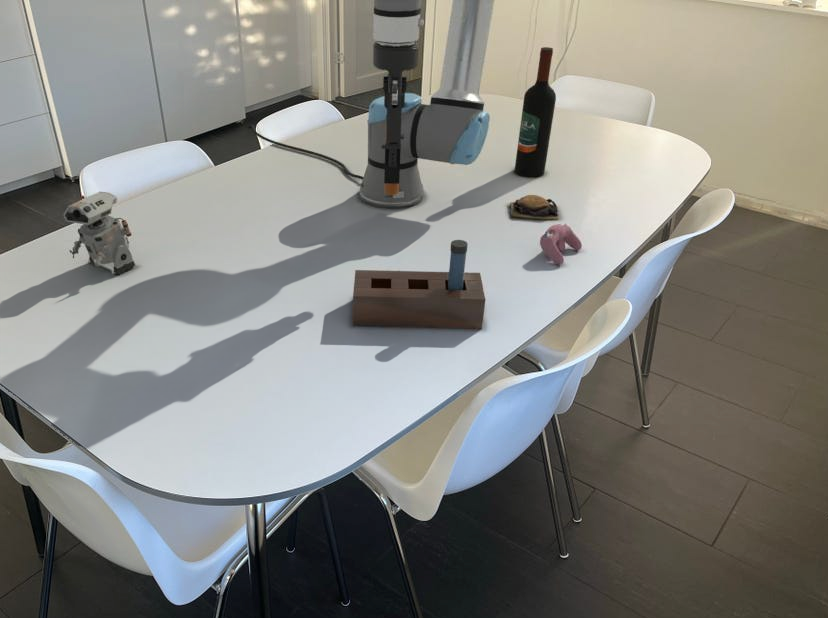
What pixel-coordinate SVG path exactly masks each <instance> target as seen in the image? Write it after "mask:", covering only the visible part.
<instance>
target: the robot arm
mask: <svg viewBox="0 0 828 618" xmlns="http://www.w3.org/2000/svg"><path fill="white" fill-rule="evenodd" d="M421 7H422V0H373V13H372V14H373V15H372V17H373V19H372V38H373V40H374V41H375V42H374V43H373V45H372V65H373V67H374V68H376V69H378V70H381V71H387V72H388V73H387V76H386V75H384V76H383V77H382V79H383V81H382V91H383V92H384V95H383V96H380V97H378V98H376V99H374V100H372V101H371V102H370V104H369V108H368V115H367V116H368V117H367V165H366V168H365V171H364V175H363V176H362V175H359V174H355V173H352V172H351V171H349V170H348V168H347V166H346V165H345V164H344V163H342V162H341V161H339V160H337V159H335V158H332V157H330V156H328V155H325V154H322V153H319V152H315V151H312V150H309V149H304V148H301V147H296V146H293V145H289V144H285V143H283V142H282V143H281V142H278V141H275V140H272V139H270V138H268V137H266V136H264V135H262V134H260V133H258V131H256V129H255V126H254V125H253V124H249V125H248V129H251V130H252V132H253V134H255V135H256V136H257V137H258V138H259V139H262V140H264V141H265V142H269V143H271V144H274V145H277V146H280V147H283V148H287V149H289V150H290V149H291V150H294V151H299V152H303V153H306V154H309V155H314V156H317V157H320V158H323V159H326V160H328V161H331V162H333V163H335V164H337V165H339V166H340V167H341V168H342V169H343V171H344V172H345V173H346V174H347V175H348V176H349V177H352V178H355V179H356V178H357V179H359V180H361V183H360V186H359V197H360V198H359V199H361V200H362V202H364V203H366V204H368V205H370V206H373V207H378V208H383V209H402V208H409V207H412V206H414V205H417V204H420V202H422V200H424V193H425V192H424V191H425V190H424V184H423V183H422V179H421V174H420V170H419V166H418V165H419V164H418V163H419V162H418V160H419V159H420V160H427V161H434V162H439V163H445V164H449V165H463V166H469V165H471V164H473V163H474V162H475V161H476V160H477V159H478V158H479V156H480V154H481V152H482V150H483V148H484V144H485V142H486V139H487V136H488V132H489V127H490V121H491V119H490V118H491V117H490V113H489V112H487V111H486V110H484V107H485V101H484V100H483V99H482V97H481V95H480V89H481V82H482V77H483V70H484V65H485V58H486V52H487V46H488V42H489V35H490V30H491V24H492V23H491V22H492V17H493V11H494V7H495V0H452V3H451V10H450V16H449V17H450V18H449V23H448V24H449V25H448V29H447V36H446V44H445V49H444V55H443V56H444V57H443V62H442V63H443V64H442V69H441V77H440V82H439V83H440V84H439V89H438V90H437V91H435V92H434V93H433V94H432V95H430V102H429V104H424V103H422V102H423V101H422V98H421V96H420V95H419V94H416V93H411V92H407V89H408V88H407V87H408V86H407V85H408V81H407V79H408V77H407V76H403V72H404V71H405V72H406V71H412V70H415V69H416V68H417V67H418V65H419V54H420V45H419V43H418V42H417V41H418V40H419V39H420V27H423V26H424V25H425V21H424V19H421V11H422V8H421ZM386 115H387V131H386ZM401 115H402V124H401ZM385 183H387V184H399V191H398V194H396V195H387V194H385V193H384V185H385Z"/></svg>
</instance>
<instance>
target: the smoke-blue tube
mask: <svg viewBox="0 0 828 618" xmlns="http://www.w3.org/2000/svg"><path fill="white" fill-rule="evenodd" d="M467 252H468V242H467V241H466V240H463V239H454V240H452V241H451V242H450V255H449V256H450V257H449V268H448V272H449V279H448V290H463V280H464V272H465V268H466V258H467Z"/></svg>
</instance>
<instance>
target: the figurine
mask: <svg viewBox="0 0 828 618" xmlns="http://www.w3.org/2000/svg"><path fill="white" fill-rule="evenodd" d="M80 198H81V199H80V200H78V201H76V202H74V203H72V204H70V205H68V206H67V208H66V210H65V211H64V212H63V214H62V216H63V218H64V219H65V221H66V222H68V223H73V224H78V225H80V227H79V228H78V229H77V233H78V235H79V237H78V240H75V241H74V242H73V244H74V246H73V247H72V250H71V249H69V253H70V254H72V259H75V255H78V254H79V249H80V248H81V247H82V245H81V244H83V245H84V246H85V249H86V251H87V253H88V256H89V257H88V265H91V264H92V263H93V264H94V266H95V267H100V266H101V265H105V264H106V265H107V264H113V273H114V274H117V275H119V276H120V275H122V274H124V273H126V271H130V270H133V269H134V267H136V263H135V260H133V255H132V252H131V251H130V241H129V239H128V237H131V236H132V235H133V234H132V232H131V230H130V227H129V224H128V222H127V220H126V219H124V218H122V217H114V216H111V214H112V210H113V205H115V204H117V203H118V197H117V196H116V195H114V194H112V193H111V192H108V191H98V192H96V193H93V194H92V195H89V196H86V197H85V195H81V196H80ZM120 220H121V221H120Z"/></svg>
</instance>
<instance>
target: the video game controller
mask: <svg viewBox="0 0 828 618" xmlns="http://www.w3.org/2000/svg"><path fill="white" fill-rule="evenodd" d="M539 245H540V248H541V250H542V251H543V252H544V253H545V254H546V256H547V257H548V258H549V260H551V262H553V264H555V265H559V266H561V265H563V264H564V261H565V260H564V259H565V258H564V256H563V254H562V253H561V252H563V251H564V250H565V248H566V245H568V246H569V247H570V248H571V249H573V250H575V251H580V250H581V249H582V247H583V244H582V242H581V240H580V238H579V237H578V236H577V235H576V234H575V232H574V230H572V228H571V226H569V225H568V224H567V223H558V224H554V225H551V226H549V228H547V229H546V231H545V232H544V234H542V235H541V236H540V239H539Z"/></svg>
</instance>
